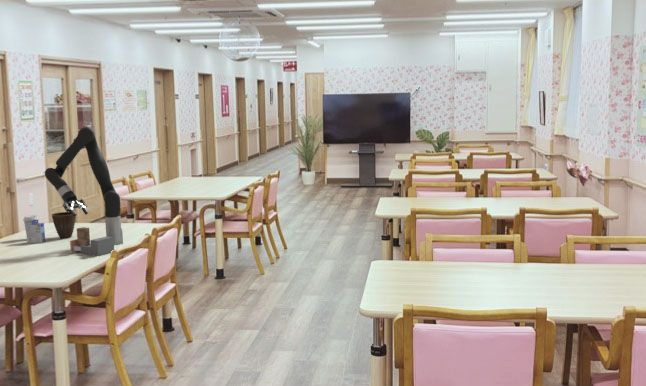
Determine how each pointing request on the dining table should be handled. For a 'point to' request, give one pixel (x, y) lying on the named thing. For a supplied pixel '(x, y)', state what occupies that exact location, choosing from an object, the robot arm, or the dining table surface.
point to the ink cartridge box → (35, 232)
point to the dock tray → (75, 245)
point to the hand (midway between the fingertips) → (81, 214)
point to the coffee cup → (29, 220)
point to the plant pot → (64, 224)
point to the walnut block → (83, 236)
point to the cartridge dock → (99, 246)
